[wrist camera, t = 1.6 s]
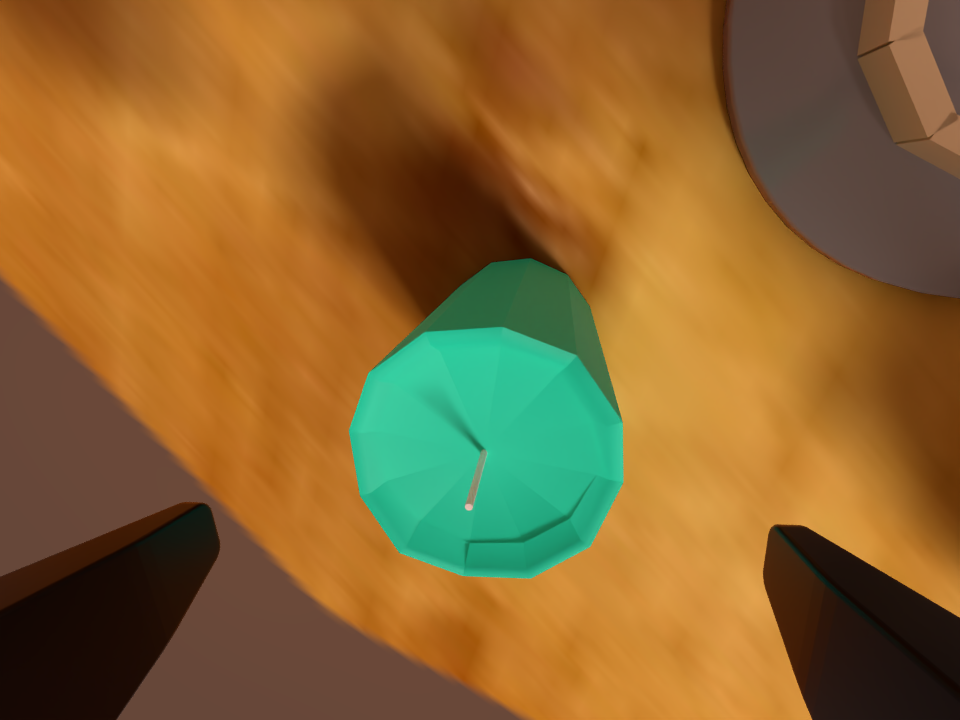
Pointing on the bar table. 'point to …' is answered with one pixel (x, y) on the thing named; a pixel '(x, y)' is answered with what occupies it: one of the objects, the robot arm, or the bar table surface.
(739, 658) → the bar table surface
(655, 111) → the bar table surface
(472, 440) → the candle
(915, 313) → the bar table surface
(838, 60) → the candle holder
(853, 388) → the bar table surface
